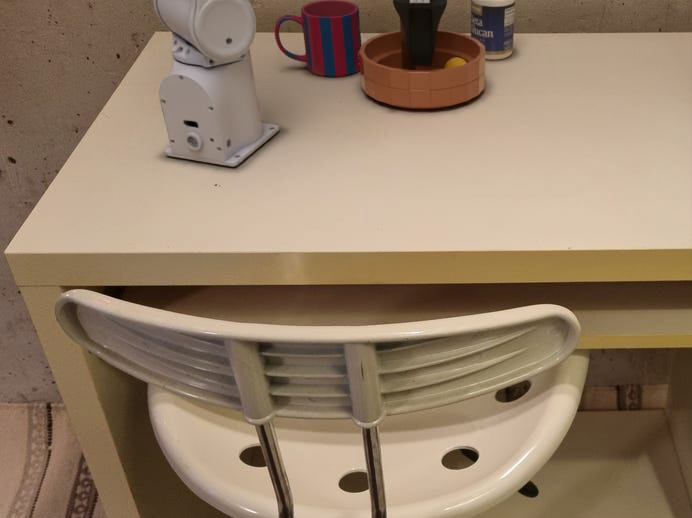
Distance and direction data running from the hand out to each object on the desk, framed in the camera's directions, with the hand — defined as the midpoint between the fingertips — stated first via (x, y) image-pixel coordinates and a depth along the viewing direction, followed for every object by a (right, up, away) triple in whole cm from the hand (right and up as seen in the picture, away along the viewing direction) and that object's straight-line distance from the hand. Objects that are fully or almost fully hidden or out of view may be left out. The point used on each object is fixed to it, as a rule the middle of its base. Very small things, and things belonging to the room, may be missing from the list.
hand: (422, 51), depth 96 cm
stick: (-2, -3, +2) cm, 4 cm away
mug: (-13, +1, +7) cm, 15 cm away
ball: (+4, -2, +1) cm, 4 cm away
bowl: (0, -3, +3) cm, 4 cm away
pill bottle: (+8, +5, +12) cm, 15 cm away
